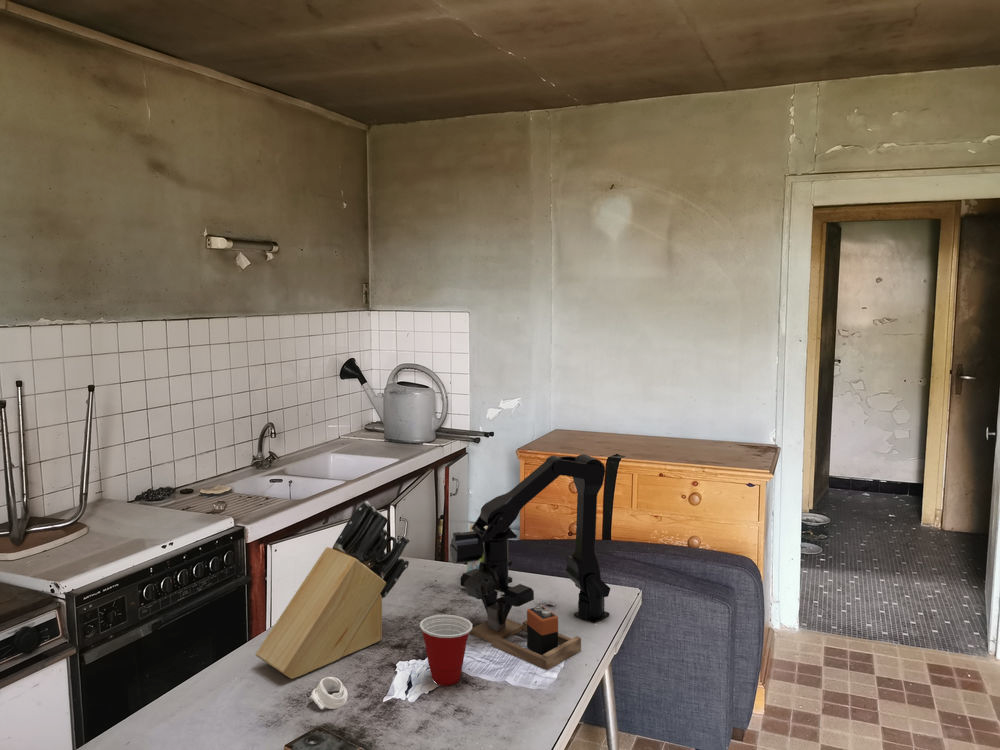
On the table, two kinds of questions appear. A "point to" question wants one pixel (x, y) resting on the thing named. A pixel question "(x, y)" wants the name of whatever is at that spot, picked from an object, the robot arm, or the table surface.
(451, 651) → the plastic cup
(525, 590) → the robot arm
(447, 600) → the table surface
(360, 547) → the knife block
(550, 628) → the battery
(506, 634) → the wooden tray frame
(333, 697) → the white plastic ring
